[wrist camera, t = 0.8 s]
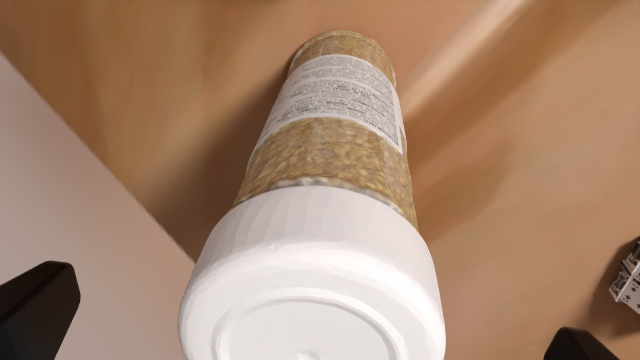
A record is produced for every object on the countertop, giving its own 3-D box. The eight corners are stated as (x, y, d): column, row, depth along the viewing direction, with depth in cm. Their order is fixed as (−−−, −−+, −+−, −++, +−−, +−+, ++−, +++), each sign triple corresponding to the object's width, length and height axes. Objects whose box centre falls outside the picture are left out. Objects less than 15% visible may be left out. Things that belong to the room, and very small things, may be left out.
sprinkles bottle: (363, 147, 20) (364, 464, 9) (270, 103, 19) (139, 389, 8) (417, 56, 18) (513, 330, 7) (314, 3, 17) (218, 207, 6)
